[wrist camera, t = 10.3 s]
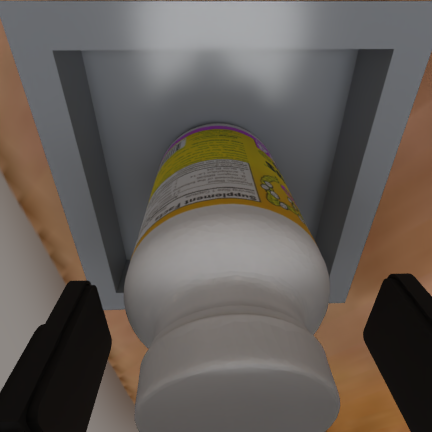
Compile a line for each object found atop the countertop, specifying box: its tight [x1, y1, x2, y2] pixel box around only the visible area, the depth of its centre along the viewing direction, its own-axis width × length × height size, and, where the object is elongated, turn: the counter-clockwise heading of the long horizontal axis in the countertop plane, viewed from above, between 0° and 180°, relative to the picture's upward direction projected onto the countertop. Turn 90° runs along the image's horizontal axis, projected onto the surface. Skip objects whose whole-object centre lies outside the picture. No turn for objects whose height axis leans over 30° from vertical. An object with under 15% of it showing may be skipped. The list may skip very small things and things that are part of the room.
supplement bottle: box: [124, 123, 340, 432], centre depth 12 cm, size 7×7×13 cm
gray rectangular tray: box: [0, 1, 432, 310], centre depth 17 cm, size 16×16×4 cm
